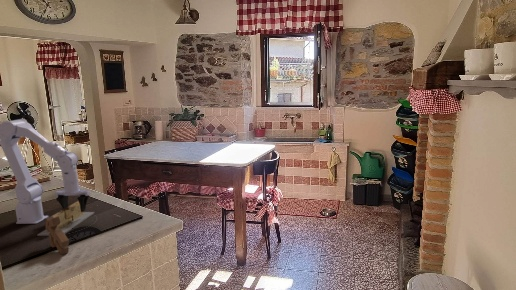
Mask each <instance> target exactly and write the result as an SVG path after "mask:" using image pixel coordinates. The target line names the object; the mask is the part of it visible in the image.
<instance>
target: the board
mask: <svg viewBox="0 0 516 290" xmlns="http://www.w3.org/2000/svg"><path fill="white" fill-rule="evenodd" d="M94 214H95V211H84V214H83V215H81V216H80V217H78V218H77V219H75V220H74V221H72V223H69V224H67V225H66V226H64V227H63V228H61V230H62V232H64V234H65V235H66V234H67V233H68V232H70V231H72V228H73V229H74V228H76V227H77V226H78V225H80V224H82V222H84V221H85V220H87V219H88V218H90V217H91V216H93V215H94ZM49 233H50V232H48V231H47V230H46V229H44V230H42V231H41V232H39V233H37V237H49Z"/></svg>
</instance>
